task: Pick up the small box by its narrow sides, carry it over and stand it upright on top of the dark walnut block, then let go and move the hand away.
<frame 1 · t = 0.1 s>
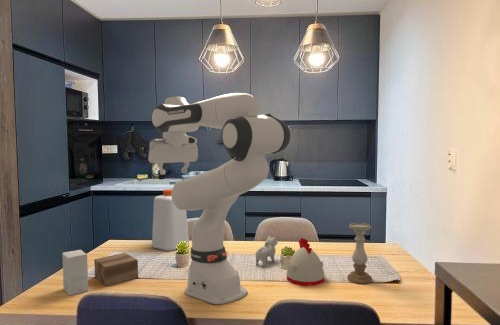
hand: (173, 173, 145), 39 cm above the table, tool pointing down, fingers open, 8 cm apart
plastic bottle: (170, 246, 181), on the table
small box: (75, 290, 128), on the table
walnut block: (116, 277, 140), on the table
kitchen timer: (305, 279, 136), on the table
candle holder: (359, 280, 135), on the table
dog figurine: (266, 263, 155), on the table
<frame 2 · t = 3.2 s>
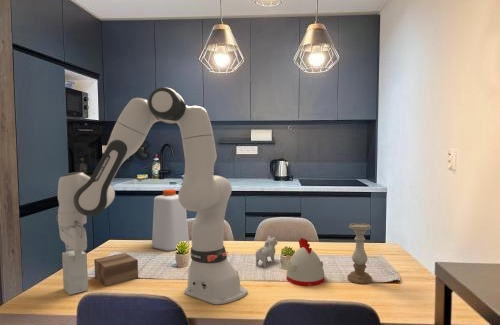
hand: (73, 258, 128), 11 cm above the table, tool pointing down, fingers open, 8 cm apart
nothing on the table moved.
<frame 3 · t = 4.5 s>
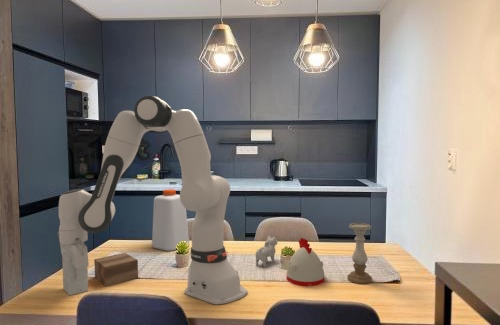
hand: (75, 275, 128), 5 cm above the table, tool pointing down, fingers closed on small box, 8 cm apart
small box: (75, 290, 128), on the table, touching gripper
everything else where it was.
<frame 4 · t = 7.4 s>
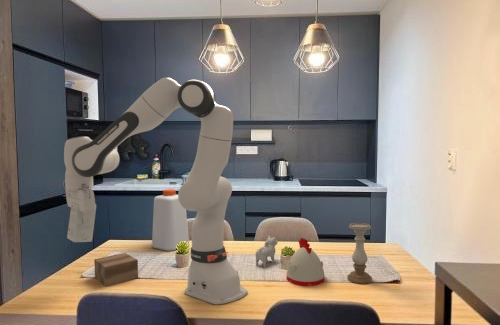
hand: (81, 222, 129), 23 cm above the table, tool pointing down, fingers closed on small box, 8 cm apart
small box: (79, 240, 128), point 17 cm above the table, touching gripper
everything else where it was.
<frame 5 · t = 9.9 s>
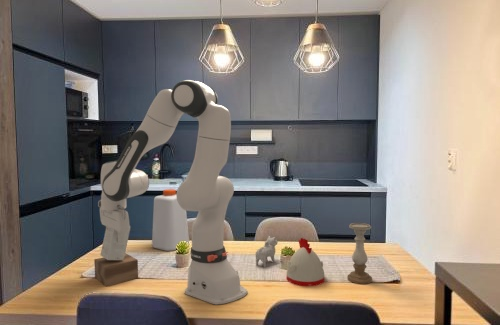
hand: (115, 240, 139), 15 cm above the table, tool pointing down, fingers closed on small box, 8 cm apart
small box: (111, 258, 138), point 8 cm above the table, touching gripper
everything else where it was.
when the fingers open (14 cm above the table, at t = 11.4 s): small box stays where it is, resting on walnut block.
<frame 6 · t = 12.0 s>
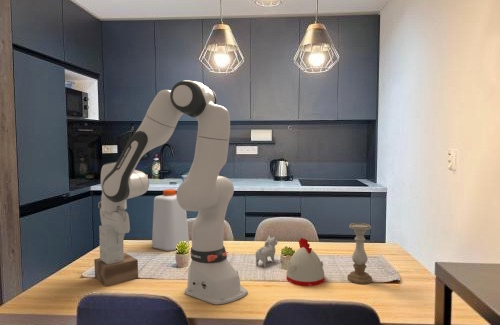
hand: (115, 241, 139), 14 cm above the table, tool pointing down, fingers open, 8 cm apart
small box: (111, 260, 138), point 7 cm above the table, touching gripper, walnut block
everything else where it was.
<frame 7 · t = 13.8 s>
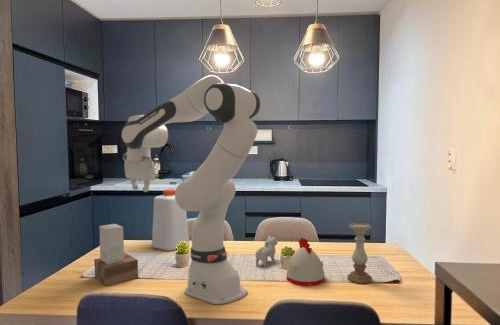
hand: (140, 190, 147), 32 cm above the table, tool pointing down, fingers open, 8 cm apart
small box: (112, 260, 138), point 7 cm above the table, touching walnut block
everything else where it was.
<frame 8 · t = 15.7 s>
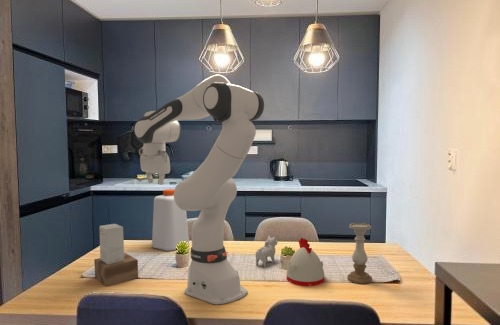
hand: (155, 183, 153), 34 cm above the table, tool pointing down, fingers open, 8 cm apart
nothing on the table moved.
at the end: small box inside the target area on the walnut block (1.4 cm from its centre), point 6.8 cm above the walnut block's base; small box tilted 0°; the gripper is holding nothing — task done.
